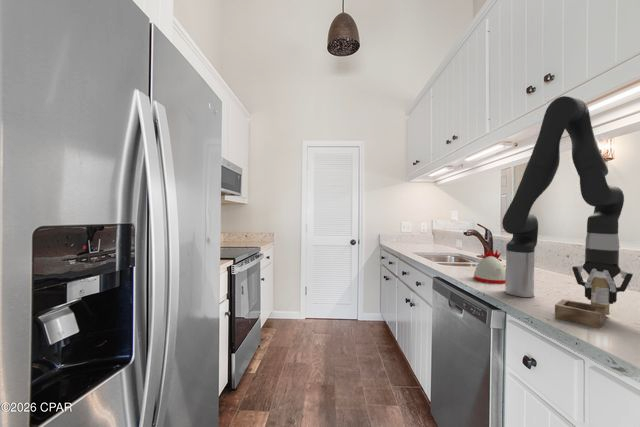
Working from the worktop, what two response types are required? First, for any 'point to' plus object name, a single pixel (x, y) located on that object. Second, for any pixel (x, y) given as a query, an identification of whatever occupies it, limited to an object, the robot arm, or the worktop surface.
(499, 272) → the white rounded dome
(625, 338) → the worktop surface
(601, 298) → the sprinkles bottle
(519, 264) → the robot arm
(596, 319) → the walnut holder
